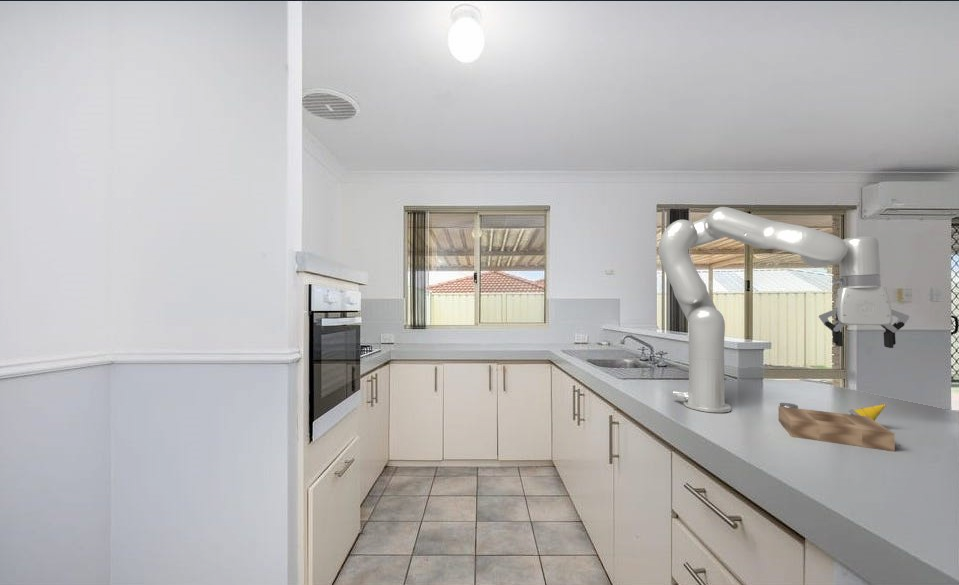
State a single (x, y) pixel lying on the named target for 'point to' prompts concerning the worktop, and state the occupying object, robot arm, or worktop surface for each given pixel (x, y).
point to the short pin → (788, 405)
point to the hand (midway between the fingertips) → (863, 346)
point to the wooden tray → (836, 428)
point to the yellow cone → (868, 411)
